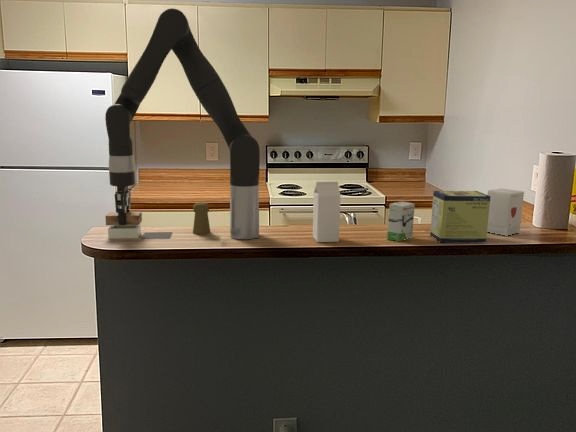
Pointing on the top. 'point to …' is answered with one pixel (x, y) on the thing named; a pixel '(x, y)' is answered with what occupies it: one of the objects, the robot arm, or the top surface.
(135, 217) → the lid
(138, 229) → the dish
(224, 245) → the top surface
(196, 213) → the cork
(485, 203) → the protein box
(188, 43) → the robot arm
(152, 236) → the mat
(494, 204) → the supplement box
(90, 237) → the top surface
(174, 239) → the top surface
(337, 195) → the milk carton
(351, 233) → the top surface
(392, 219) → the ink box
